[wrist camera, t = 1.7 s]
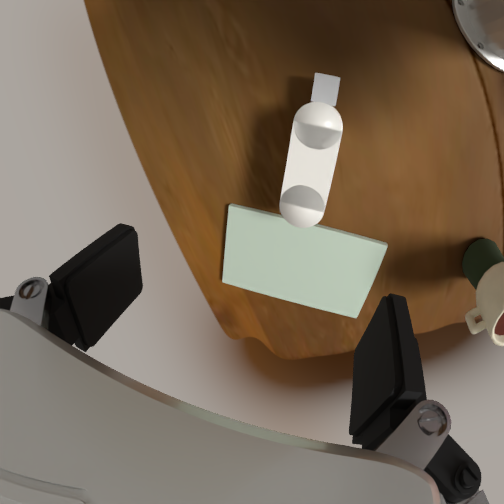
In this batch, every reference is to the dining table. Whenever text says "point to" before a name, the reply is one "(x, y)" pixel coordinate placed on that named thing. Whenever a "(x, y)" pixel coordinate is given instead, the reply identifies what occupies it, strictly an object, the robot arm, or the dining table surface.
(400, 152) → the dining table surface
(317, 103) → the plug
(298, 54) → the dining table surface
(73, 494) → the robot arm
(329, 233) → the green board
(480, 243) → the character mug
